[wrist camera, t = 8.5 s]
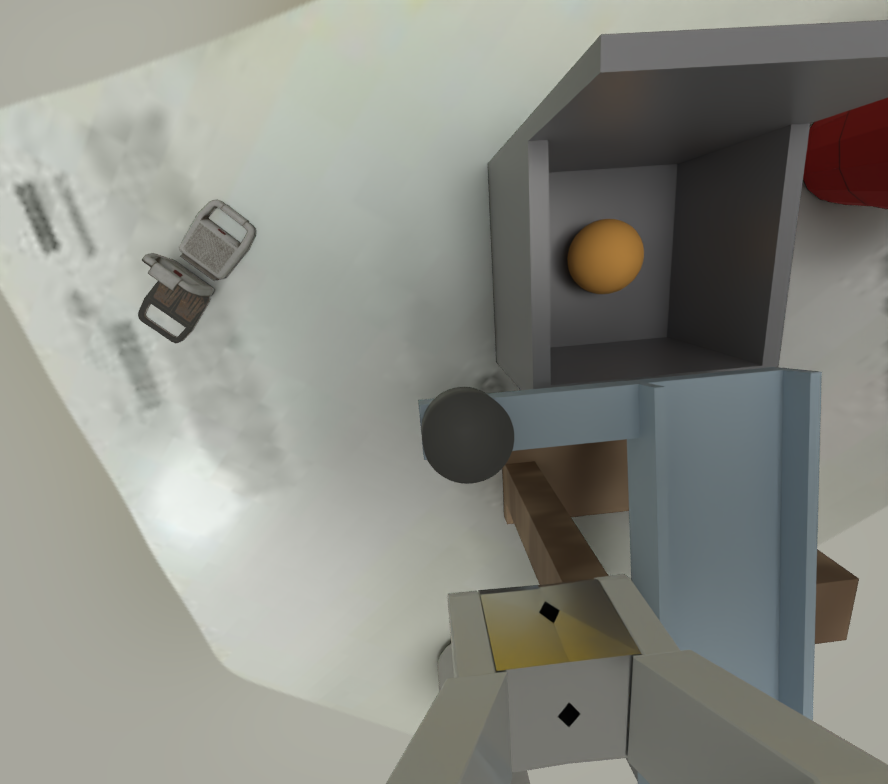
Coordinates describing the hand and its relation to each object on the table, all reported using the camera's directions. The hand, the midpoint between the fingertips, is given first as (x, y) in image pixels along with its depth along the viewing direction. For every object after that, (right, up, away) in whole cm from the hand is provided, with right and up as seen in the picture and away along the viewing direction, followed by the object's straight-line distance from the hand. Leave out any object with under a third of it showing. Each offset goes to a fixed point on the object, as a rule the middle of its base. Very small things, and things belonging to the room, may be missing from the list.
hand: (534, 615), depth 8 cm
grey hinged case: (-16, +11, +20) cm, 27 cm away
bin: (+7, +12, +21) cm, 25 cm away
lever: (+5, -5, +14) cm, 16 cm away
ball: (+7, +11, +18) cm, 22 cm away
